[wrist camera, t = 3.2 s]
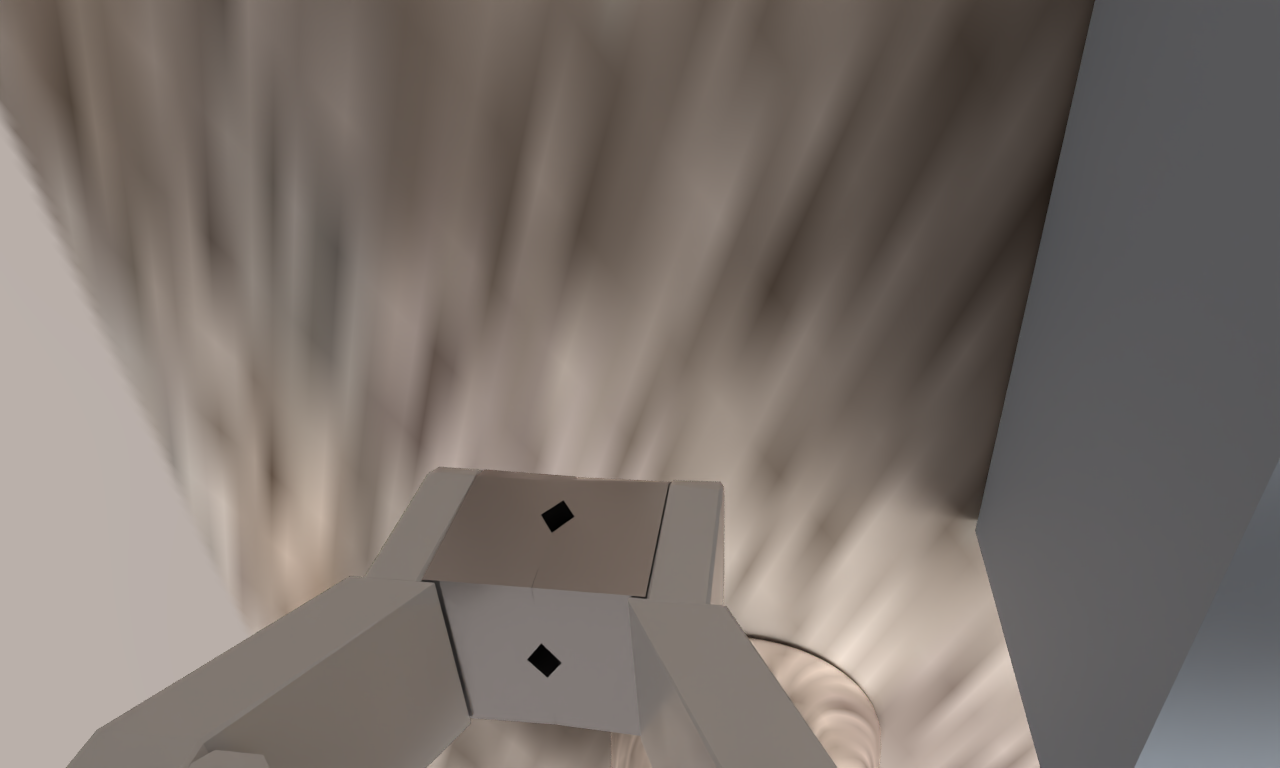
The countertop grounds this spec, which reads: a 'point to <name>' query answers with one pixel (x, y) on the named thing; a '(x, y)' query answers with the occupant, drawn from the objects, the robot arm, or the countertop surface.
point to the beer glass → (802, 710)
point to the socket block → (1151, 405)
